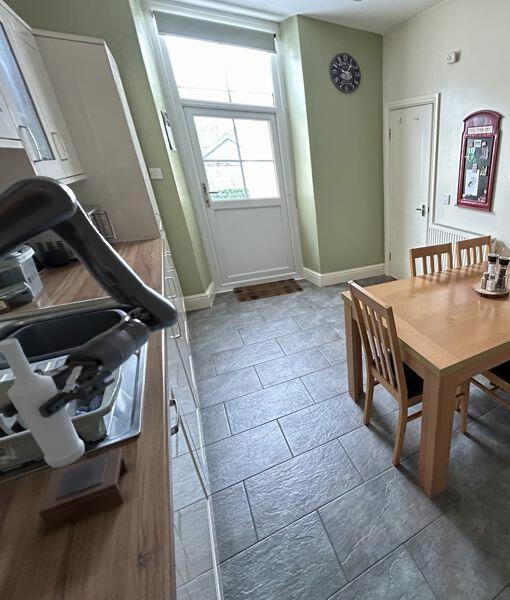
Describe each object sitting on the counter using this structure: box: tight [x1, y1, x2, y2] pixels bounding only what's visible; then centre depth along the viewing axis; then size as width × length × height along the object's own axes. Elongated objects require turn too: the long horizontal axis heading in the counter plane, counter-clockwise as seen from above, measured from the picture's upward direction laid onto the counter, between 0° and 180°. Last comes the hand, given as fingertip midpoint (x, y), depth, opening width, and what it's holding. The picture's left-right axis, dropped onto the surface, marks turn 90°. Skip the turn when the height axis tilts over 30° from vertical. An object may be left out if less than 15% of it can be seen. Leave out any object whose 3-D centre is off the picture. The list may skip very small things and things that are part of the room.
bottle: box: [0, 337, 85, 469], centre depth 56 cm, size 5×5×25 cm
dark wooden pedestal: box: [37, 448, 129, 531], centre depth 61 cm, size 10×9×5 cm
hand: (24, 413), depth 53 cm, fingers closed on bottle, 5 cm apart
